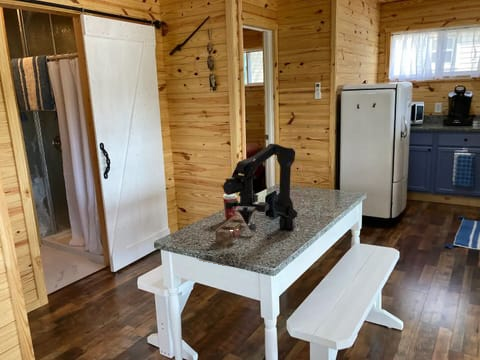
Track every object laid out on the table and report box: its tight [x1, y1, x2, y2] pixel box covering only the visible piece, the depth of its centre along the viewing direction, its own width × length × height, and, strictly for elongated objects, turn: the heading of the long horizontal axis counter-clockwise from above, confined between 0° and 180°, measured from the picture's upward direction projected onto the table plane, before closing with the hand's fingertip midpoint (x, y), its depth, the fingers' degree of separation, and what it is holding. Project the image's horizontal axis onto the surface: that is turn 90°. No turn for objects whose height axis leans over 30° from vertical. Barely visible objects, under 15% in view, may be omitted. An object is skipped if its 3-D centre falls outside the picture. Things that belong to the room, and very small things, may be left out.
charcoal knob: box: [239, 221, 258, 232], centre depth 186 cm, size 8×4×4 cm, turn 66°
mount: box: [215, 216, 247, 246], centre depth 185 cm, size 6×20×6 cm, turn 156°
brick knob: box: [223, 229, 241, 239], centre depth 179 cm, size 8×4×4 cm, turn 66°
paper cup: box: [222, 193, 238, 222], centre depth 206 cm, size 8×8×14 cm
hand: (247, 224), depth 174 cm, fingers closed
